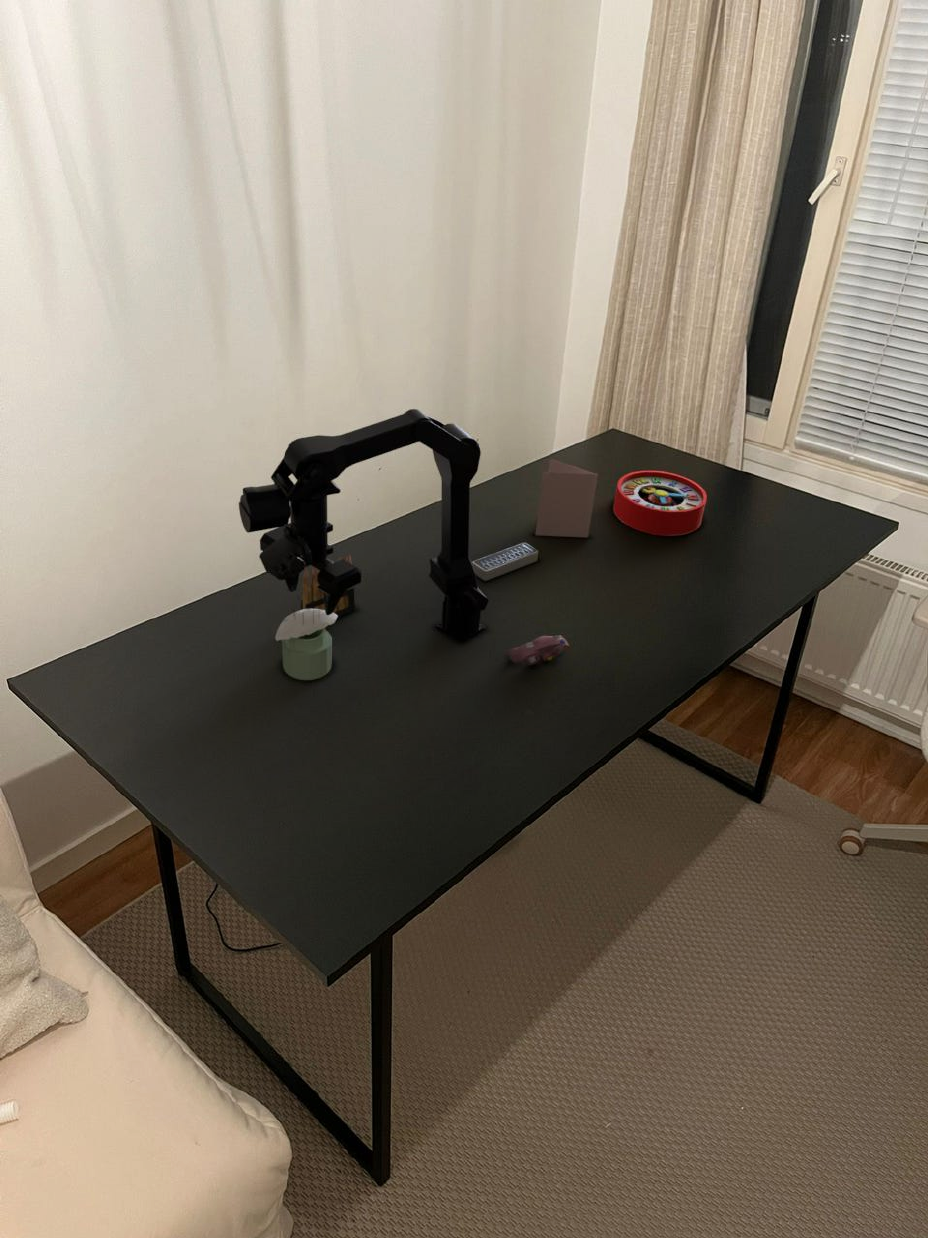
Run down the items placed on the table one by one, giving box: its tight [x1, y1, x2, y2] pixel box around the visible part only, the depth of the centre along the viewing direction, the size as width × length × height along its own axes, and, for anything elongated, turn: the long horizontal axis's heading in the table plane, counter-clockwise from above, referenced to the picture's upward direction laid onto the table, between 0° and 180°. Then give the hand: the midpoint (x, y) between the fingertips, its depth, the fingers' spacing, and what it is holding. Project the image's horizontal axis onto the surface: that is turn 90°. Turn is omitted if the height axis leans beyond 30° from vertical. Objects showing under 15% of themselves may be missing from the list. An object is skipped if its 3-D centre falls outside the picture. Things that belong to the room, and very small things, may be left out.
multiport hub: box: [471, 542, 539, 582], centre depth 203 cm, size 4×14×2 cm, turn 130°
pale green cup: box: [281, 627, 333, 681], centre depth 170 cm, size 8×8×8 cm
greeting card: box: [535, 458, 599, 538], centre depth 212 cm, size 11×7×15 cm, turn 58°
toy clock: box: [612, 470, 708, 537], centre depth 225 cm, size 20×6×20 cm
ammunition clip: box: [300, 553, 356, 618], centre depth 181 cm, size 11×2×12 cm, turn 129°
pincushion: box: [275, 595, 339, 642], centre depth 166 cm, size 12×6×6 cm, turn 131°
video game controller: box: [508, 634, 570, 666], centre depth 176 cm, size 10×5×7 cm
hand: (310, 602), depth 165 cm, fingers open, 9 cm apart
